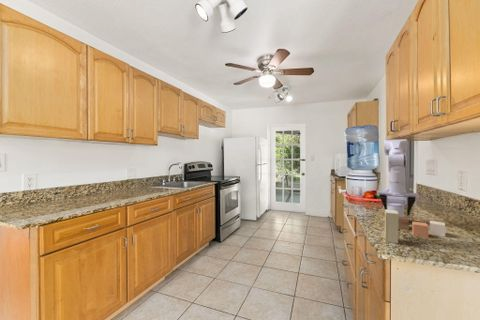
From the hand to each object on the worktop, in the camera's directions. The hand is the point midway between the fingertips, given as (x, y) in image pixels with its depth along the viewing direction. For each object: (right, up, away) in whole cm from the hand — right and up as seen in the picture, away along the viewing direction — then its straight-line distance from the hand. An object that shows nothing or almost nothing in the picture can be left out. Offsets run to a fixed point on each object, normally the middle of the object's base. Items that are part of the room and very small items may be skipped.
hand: (396, 213), depth 93 cm
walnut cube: (+11, -10, +13) cm, 20 cm away
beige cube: (+21, -10, +4) cm, 23 cm away
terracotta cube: (+12, -10, +3) cm, 16 cm away
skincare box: (-5, -10, -4) cm, 12 cm away
